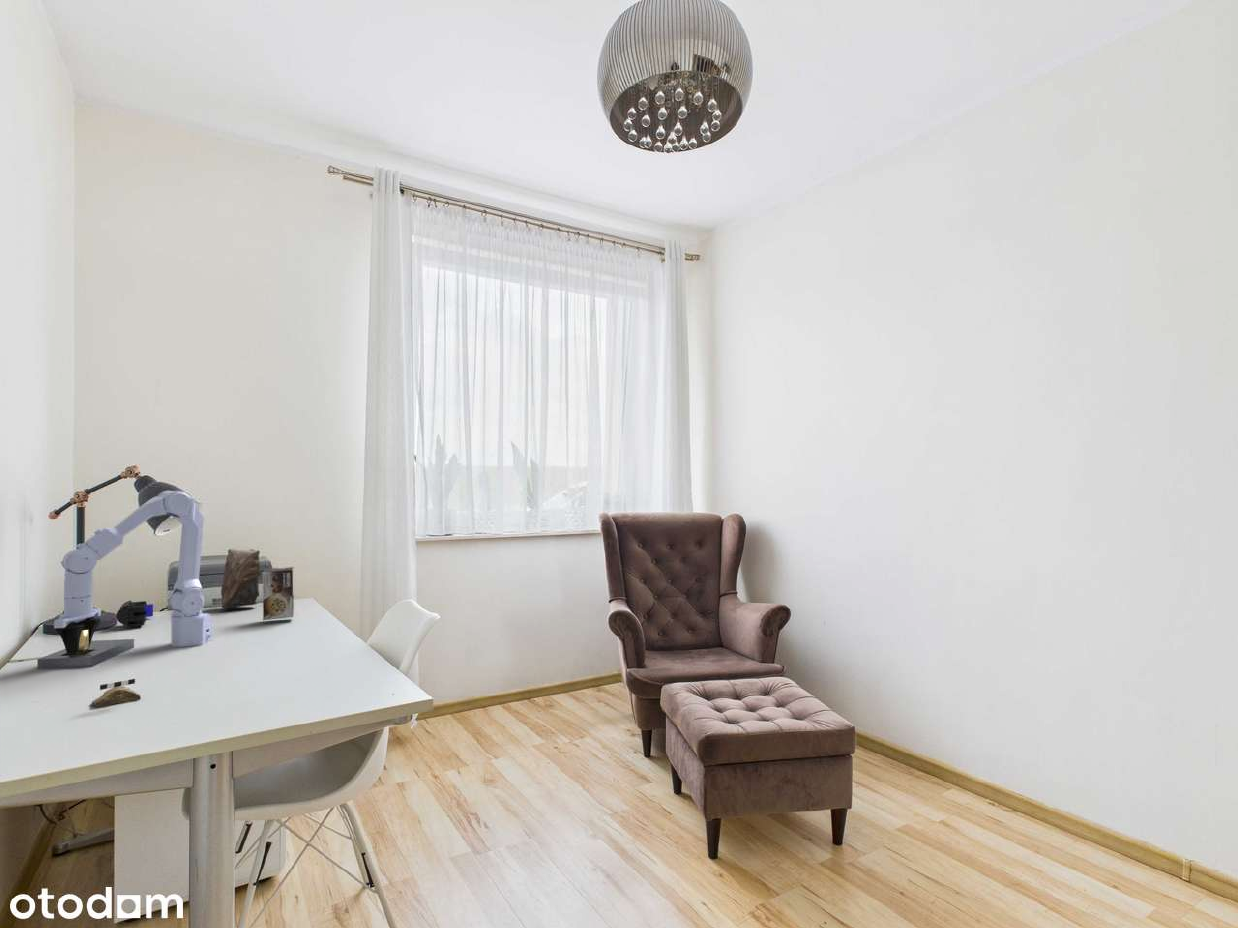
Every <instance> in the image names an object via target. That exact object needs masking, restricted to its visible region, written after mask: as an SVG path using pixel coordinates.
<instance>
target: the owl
mask: <svg viewBox="0 0 1238 928" xmlns="http://www.w3.org/2000/svg"><path fill="white" fill-rule="evenodd" d="M227 553H228V554H227V556H226V559H225V560H226V561H225V564H224V572H223V573H224V574H223V578H222V579H223V580H222V585H221V590H220V593H221V608H222V610H223V609H225V610H226V609H231V608H232V609H233V608H239V607H240V608H241V607H247V606H255V605H258V602H257V599H258V597H259V596H260V590H259V587H260V585H259V580H260V578H261V575H262V571H261V568H260V558H259V557H260V553H261V551H260V550H255V549H246V550H245V549H235V548H231V549H230V548H229V549H228V550H227Z"/></svg>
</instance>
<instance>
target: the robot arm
mask: <svg viewBox="0 0 1238 928" xmlns="http://www.w3.org/2000/svg"><path fill="white" fill-rule="evenodd" d="M165 515H168V516H172V517H173V518H174V519H175V520H177V521H178V522H179V523H180V524H181V530H180V531H181V533H180V544H179V545H180V546H179V555H178V556H179V557H178V570H177V571H178V572H177V579H176V581H175V584H174V586H173V591H172V593H171V594H170V596H169V599H168V604H169V606H170V608H171V609H172V613H171V614H170V615H171V618H170V619H171V622H170V623H171V626H170V628H171V629H170V630H171V633H170V634H171V636H170V637H171V641H170V642H171V646H172V647H176V648H177V647H188V646H204V645H206V644H208V643H210V642H214V640H215V639H213V624H214V623H213V617H212V614H210V613H203V608H204V607H205V603H206V600H205V597H204V595H203V586H202V584H201V582H200V571H201V561H202V560H201V559H202V546H203V533H204V523H205V522H204V521H205V520H204V518H205V517H204V515H203V514H202V512H201V510H200V509H199V507H198V505H197V504H196V499H195V498H193V497H192V496H191V495H190V494H188V493H187V492H184V491H183V490H182V491H181V490H174V491H173V490H163V491H161V492H160V493H158V494H157V495H156V496H154V497H152V498H150V499H148V500H147V501H146V502H145V503H142V505H140V506H139V507H138V508H137V509H135V510H134V511H132V512H131V513H130V514H129V515H128V516H127V517H125V518H124V519H122V521H120V522H119V523H117V525H115V526H114V527H104V528H103V529H96V530H95V531H94V532H93V533H94V535H93V536H91V537H90V538H88V539H87V540H86V541H84V542H83V543H79V544H77V545H76V549H71V550H69V551H68V552H66V554H64V555H63V557H62V560H61V561H60V563H61V566H62V568H63V569H64V580H63V613H62V614H60V615H58V618H56V619H55V620H54V621H53V628H54V629H55V632H56V633H58V635H59V636H60V638H61V640H62V642H63V645H64V649H66V652H67V653H76V652H78V649H79V641H80V636H81V633H82V630H83V629H89V646H90V643H91V641H93V640H92V639H93V636H94V634H95V630H96V629H97V627H98V625H99V624H100V622H101V618H99V617H100V616H101V614H102V612H101V611H102V608H101V607H99V608H97V607H96V608H95V607H94V598H93V597H94V578H93V569H94V568H95V567H96V565H97V562H98V561H101V560H102V559H104V558H105V557H106V556H108V555H109V554H110V553H112V551H114V550H116V549H117V548H118V547H120V546H121V545H122V544H123V540H124V537H125V536H126V535H128V534H130V533H131V532H132V531H133V530H135V529H136V528H137V527H139V526H140V525H142V524H143V523H145V522H147V521H148V520H149V519H151V518H153V517H159V516H160V517H161V516H165ZM94 617H95V618H94Z"/></svg>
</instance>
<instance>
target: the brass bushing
mask: <svg viewBox="0 0 1238 928" xmlns="http://www.w3.org/2000/svg"><path fill="white" fill-rule="evenodd" d="M88 648H89V629H83V630H82V633H81V636H80V641H79V649H78V652H76V653H68V656H72V655H84V654H87V653H88Z"/></svg>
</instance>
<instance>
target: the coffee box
mask: <svg viewBox="0 0 1238 928" xmlns="http://www.w3.org/2000/svg"><path fill="white" fill-rule="evenodd" d="M294 568H295V567H294V566H291V567H290V566H289V567H276V568H275V567H274V568H273V567H272V568H264V570H263V571H262V599H263V601H262V605H263V606H262V610H263V611H262V613H263V614H262V615H263V619H262V620H263V621H268V620H278V619H289V618H290V619H291V618H294V617H295V584H294V583H295V577H294V573H295V570H294Z"/></svg>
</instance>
